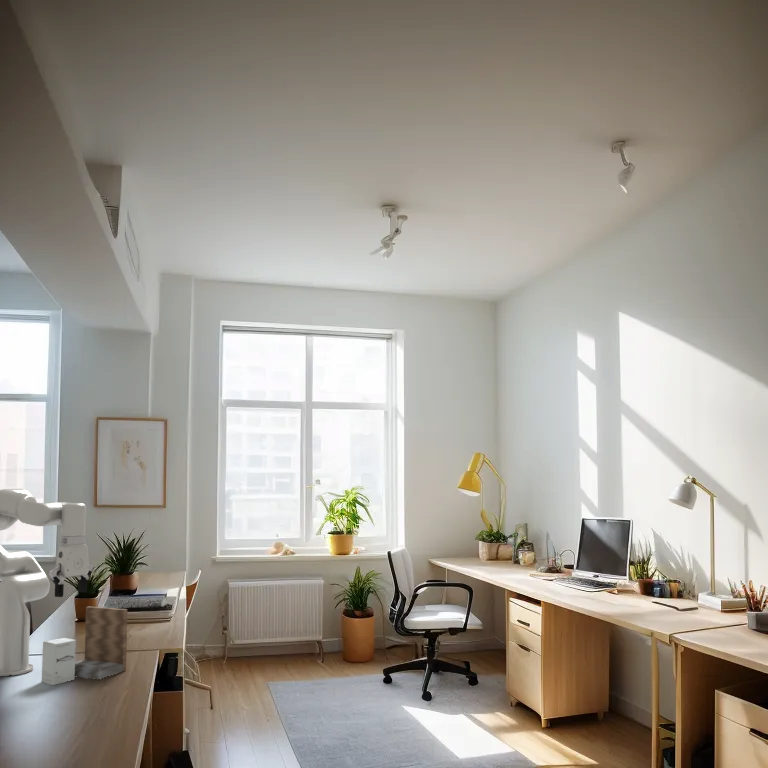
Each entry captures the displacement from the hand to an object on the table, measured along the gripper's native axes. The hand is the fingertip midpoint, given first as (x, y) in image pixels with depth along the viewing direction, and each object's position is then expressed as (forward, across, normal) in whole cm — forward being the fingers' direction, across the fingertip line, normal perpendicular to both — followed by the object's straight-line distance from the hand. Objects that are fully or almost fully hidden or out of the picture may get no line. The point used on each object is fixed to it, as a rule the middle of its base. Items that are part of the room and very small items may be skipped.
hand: (70, 594), depth 248 cm
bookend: (+26, +8, -2) cm, 28 cm away
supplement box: (+27, -3, +1) cm, 27 cm away
